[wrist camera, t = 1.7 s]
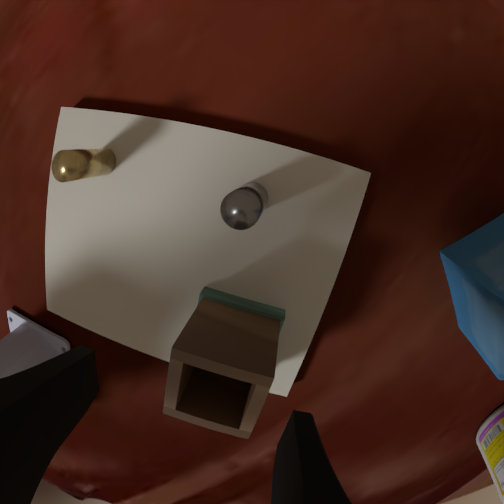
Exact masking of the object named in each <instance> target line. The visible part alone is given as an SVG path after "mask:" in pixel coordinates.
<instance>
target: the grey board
mask: <svg viewBox="0 0 504 504" xmlns="http://www.w3.org/2000/svg"><path fill="white" fill-rule="evenodd" d="M100 148H107V149H110V150H112V151H113V153H114V154H115V157H116V165H115V168H114V170H113V171H112V172H111V173H110V174H108V175H103V176H97V177H91V178H85V179H80V180H74V181H69V182H63V183H62V182H59V181H57V180H56V179H55V178H54V176H53V174H52V168H51V170H50V179H49V189H48V200H47V214H46V237H45V276H46V299H47V310H49V311H51V312H53V313H55V314H57V315H59V316H61V317H63V318H65V319H67V320H69V321H71V322H73V323H75V324H78V325H80V326H82V327H84V328H86V329H88V330H91V331H93V332H95V333H97V334H100V335H102V336H104V337H106V338H109V339H111V340H113V341H116V342H118V343H121V344H123V345H126V346H128V347H130V348H133V349H135V350H138V351H141V352H143V353H146V354H148V355H151V356H154V357H156V358H159V359H162V360H165V361H167V362H169V361H170V354H171V348H172V346H173V344H174V343H175V341H176V339H177V338H178V336H179V335H180V333H181V331H182V330H183V328H184V327H185V325H186V323H187V322H188V320H189V319H190V317H191V315H192V314H193V312H194V311H195V309H196V307H197V305H198V300H199V295H200V292H201V291H202V289H203V288H204V286H206V287H209V288H212V289H216V290H219V291H222V292H226V293H229V294H232V295H236V296H239V297H242V298H246V299H249V300H253V301H256V302H260V303H263V304H267V305H270V306H274V307H277V308H281V309H285V310H286V312H285V320H284V323H283V325H282V328H281V331H280V334H279V340H278V350H277V359H276V368H275V377H274V381H273V383H272V385H271V388H270V390H269V392H270V393H274V394H278V395H282V396H286V397H287V395H288V393H289V390H290V388H291V386H292V384H293V382H294V380H295V377H296V375H297V373H298V371H299V368H300V366H301V364H302V362H303V359H304V357H305V355H306V352H307V350H308V348H309V345H310V343H311V341H312V338H313V336H314V334H315V331H316V329H317V326H318V324H319V321H320V319H321V316H322V314H323V311H324V309H325V306H326V304H327V301H328V299H329V296H330V293H331V291H332V288H333V286H334V283H335V280H336V278H337V275H338V272H339V269H340V267H341V264H342V261H343V258H344V255H345V253H346V250H347V247H348V244H349V241H350V238H351V235H352V232H353V229H354V226H355V223H356V220H357V217H358V214H359V211H360V208H361V205H362V201H363V198H364V195H365V192H366V188H367V185H368V182H369V178H370V175H371V173H370V172H367V171H364V170H361V169H358V168H355V167H352V166H349V165H346V164H343V163H340V162H337V161H334V160H331V159H328V158H324V157H321V156H318V155H315V154H311V153H308V152H304V151H301V150H298V149H294V148H290V147H287V146H283V145H280V144H276V143H272V142H268V141H264V140H260V139H256V138H252V137H248V136H244V135H240V134H236V133H231V132H227V131H222V130H218V129H213V128H208V127H203V126H198V125H193V124H188V123H183V122H177V121H171V120H166V119H160V118H153V117H147V116H140V115H133V114H126V113H119V112H110V111H102V110H92V109H82V108H70V107H61V111H60V116H59V120H58V126H57V131H56V137H55V143H54V149H53V155H52V160H53V158H54V156H55V154H56V153H57V152H59V151H60V150H72V149H100ZM51 166H52V163H51ZM249 182H256V183H259V184H261V185H262V186H264V188H265V189H266V190H267V193H268V203H267V205H266V207H265V208H264V210H263V212H262V214H261V216H260V217H259V219H258V221H257V222H256V224H255V225H253V226H252V227H251V228H249V229H246V230H236V229H233V228H231V227H229V226H228V225H227V224H226V223H225V222H224V220H223V219H222V216H221V213H220V207H221V203H222V200H223V199H224V197H225V196H226V195H227V194H229V193H230V192H232V191H234V190H235V189H237V188H239V187H241V186H243V185H244V184H246V183H249Z"/></svg>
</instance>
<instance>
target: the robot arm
mask: <svg viewBox="0 0 504 504" xmlns="http://www.w3.org/2000/svg"><path fill="white" fill-rule="evenodd" d="M7 315H8V321H9V327H10V333H9V334H8V335H7V336H5V337H4V338H3V339H1V340H0V504H30V503H31V501H32V499H33V496H34V494H35V492H36V489H37V487H38V485H39V483H40V481H41V479H42V477H43V475H44V472H45V471H46V469H47V467H48V465H49V463H50V461H51V460H52V458H53V456H54V455H55V453H56V452H57V450H58V449H59V447H60V446H61V445H62V443H63V442H64V441H65V439H66V438H67V437H68V435H69V434H70V433H71V431H72V430H73V429H74V427H75V426H76V425H77V424H78V422H79V421H80V420H81V418H82V417H83V416H84V414H85V413H86V412H87V410H88V408H89V407H90V405H91V403H92V402H93V400H94V398H95V396H96V394H97V392H98V390H99V387H98V379H97V371H96V362H95V352H94V350H91V349H89V348H87V347H85V346H82V345H80V346H78V347H75V348H73V349H71V350H70V344H69V342H68V341H67V340H66V339H65V338H63V337H61V336H59V335H57V334H55V333H53V332H51V331H49V330H47V329H46V328H44V327H42V326H40V325H38V324H37V323H35V322H33V321H31V320H30V319H28V318H26V317H24V316H23V315H21V314H19V313H18V312H16V311H14V310H13V309H9V310H8V311H7ZM271 504H352V503H351V502H350V500H349V498H348V497H347V495H346V493H345V492H344V490H343V488H342V486H341V484H340V482H339V480H338V478H337V477H336V474H335V472H334V470H333V468H332V466H331V464H330V461H329V459H328V457H327V454H326V452H325V450H324V447H323V444H322V442H321V439H320V436H319V434H318V431H317V428H316V425H315V422H314V418H313V416H312V414H311V413H306V412H300V411H295V410H293V412H292V414H291V417H290V419H289V421H288V423H287V426H286V428H285V430H284V432H283V434H282V436H281V439H280V441H279V443H278V445H277V451H276V457H275V462H274V468H273V483H272V500H271Z"/></svg>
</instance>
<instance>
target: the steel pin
mask: <svg viewBox="0 0 504 504" xmlns="http://www.w3.org/2000/svg"><path fill="white" fill-rule="evenodd" d="M267 203H268V193H267V190H266V189H265V188H264V186H262V185H261V184H259V183H256V182H249V183H246V184H244V185H243V186H241V187H239V188H237V189H235V190H234V191H232V192H230V193H229V194H227V195H226V196H225V197H224V199H223V200H222V203H221V207H220V213H221V216H222V219H223V220H224V222H225V223H226V224H227V225H228V226H229V227H231V228H233V229H236V230H246V229H249V228H251V227H252V226H253V225H255V224H256V222H257V221H258V219H259V217H260V216H261V214H262V212H263V210H264V208H265V207H266V205H267Z"/></svg>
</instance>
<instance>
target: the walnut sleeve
mask: <svg viewBox="0 0 504 504" xmlns="http://www.w3.org/2000/svg"><path fill="white" fill-rule="evenodd" d="M285 312H286V310H285V309H281V308H277V307H274V306H270V305H267V304H263V303H260V302H256V301H253V300H249V299H246V298H242V297H239V296H236V295H232V294H229V293H226V292H222V291H219V290H216V289H212V288H209V287H206V286H204V288H203V289H202V291H201V292H200V295H199V300H198V305H197V307H196V309H195V311H194V312H193V314H192V315H191V317H190V319H189V320H188V322H187V323H186V325H185V327H184V328H183V330H182V331H181V333H180V335H179V336H178V338H177V339H176V341H175V343H174V344H173V346H172V348H171V354H170V361H169V368H168V375H167V383H166V391H165V399H164V407H163V413H164V414H167V415H170V416H172V417H175V418H178V419H181V420H184V421H187V422H190V423H193V424H196V425H199V426H202V427H206V428H209V429H212V430H216V431H219V432H223V433H226V434H230V435H234V436H237V437H241V438H245V439H249V436H250V434H251V432H252V430H253V427H254V425H255V423H256V421H257V418H258V416H259V414H260V411H261V409H262V407H263V404H264V402H265V400H266V397H267V395H268V393H269V390H270V388H271V385H272V383H273V381H274V377H275V368H276V359H277V350H278V340H279V334H280V331H281V328H282V325H283V323H284V320H285Z"/></svg>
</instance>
